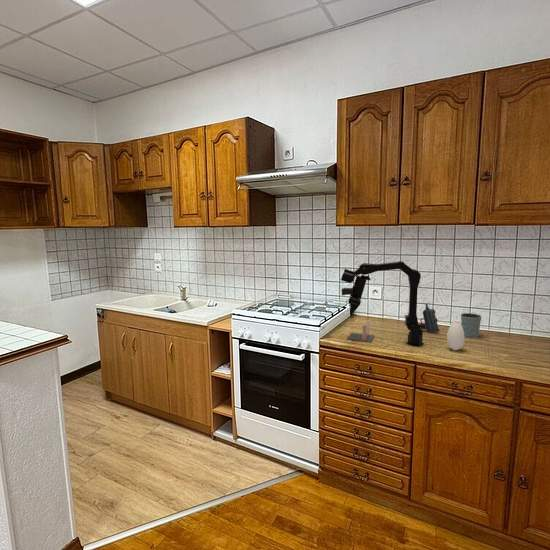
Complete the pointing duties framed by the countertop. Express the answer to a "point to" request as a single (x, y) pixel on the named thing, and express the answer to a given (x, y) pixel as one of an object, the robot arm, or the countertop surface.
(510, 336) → the countertop surface
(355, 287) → the robot arm
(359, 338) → the mat
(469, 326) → the grey plant pot
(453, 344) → the sauce bottle
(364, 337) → the tile
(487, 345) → the countertop surface
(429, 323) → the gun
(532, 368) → the countertop surface
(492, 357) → the countertop surface
